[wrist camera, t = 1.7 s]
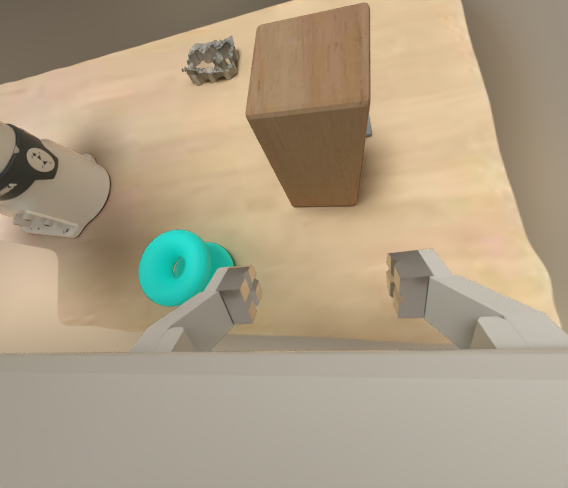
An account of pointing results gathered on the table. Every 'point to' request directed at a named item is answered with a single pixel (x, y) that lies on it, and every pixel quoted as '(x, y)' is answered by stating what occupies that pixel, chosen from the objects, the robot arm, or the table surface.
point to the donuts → (179, 267)
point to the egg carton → (214, 54)
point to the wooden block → (313, 102)
